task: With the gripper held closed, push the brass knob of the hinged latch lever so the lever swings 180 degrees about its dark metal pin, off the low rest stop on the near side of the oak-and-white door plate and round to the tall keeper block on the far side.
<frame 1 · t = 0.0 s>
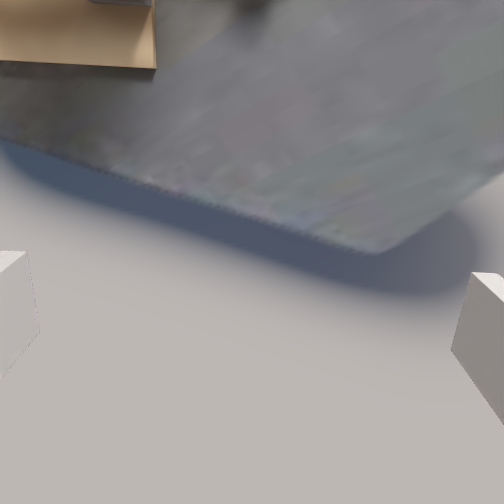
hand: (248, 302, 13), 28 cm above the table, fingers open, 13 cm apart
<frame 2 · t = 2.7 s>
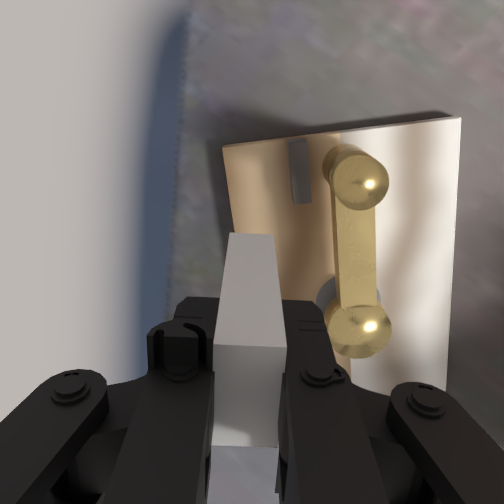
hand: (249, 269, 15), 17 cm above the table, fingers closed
latch lever: (355, 262, 29), point 5 cm above the table, hinge at 0.0°
door plate: (344, 294, 35), on the table
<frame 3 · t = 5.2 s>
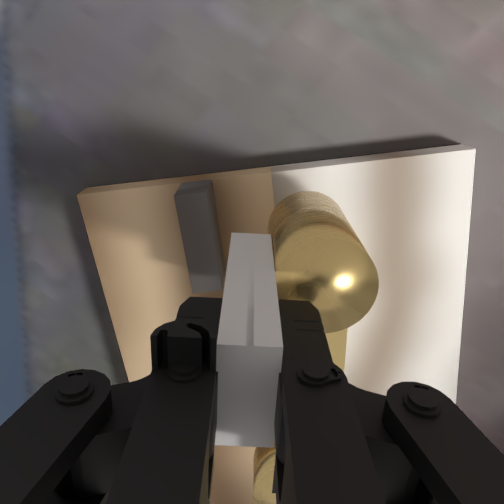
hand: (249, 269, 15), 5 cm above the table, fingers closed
latch lever: (308, 392, 17), point 5 cm above the table, hinge at 6.0°, touching gripper
door plate: (294, 405, 23), on the table
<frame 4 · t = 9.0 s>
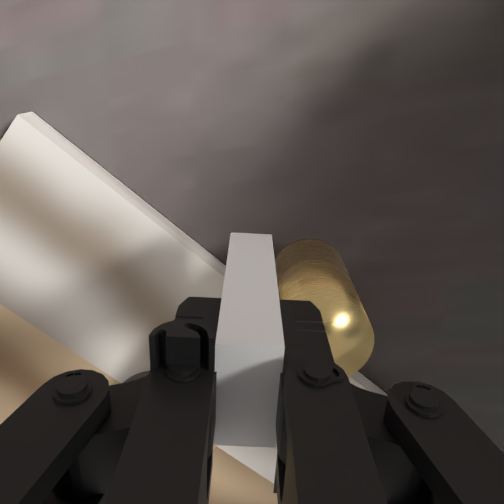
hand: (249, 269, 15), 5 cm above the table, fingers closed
latch lever: (215, 401, 17), point 5 cm above the table, hinge at 87.9°, touching gripper
door plate: (165, 393, 24), on the table
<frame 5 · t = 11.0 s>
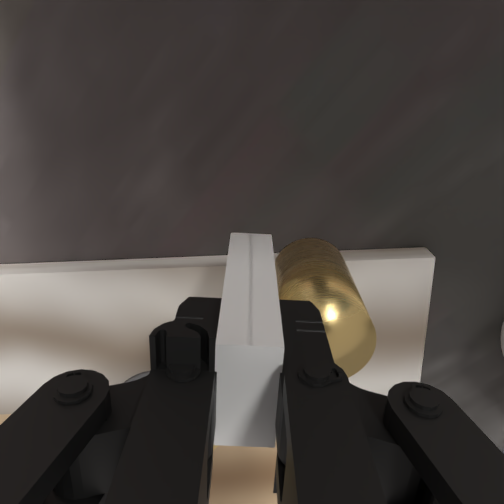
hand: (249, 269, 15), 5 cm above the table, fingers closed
latch lever: (216, 401, 17), point 5 cm above the table, hinge at 132.2°, touching gripper
door plate: (167, 393, 23), on the table
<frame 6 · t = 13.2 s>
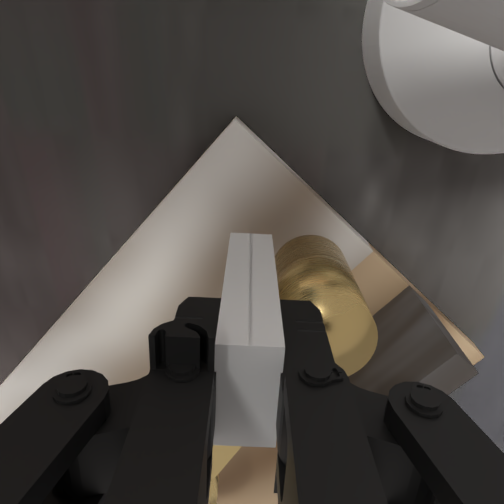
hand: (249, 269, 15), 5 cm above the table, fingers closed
latch lever: (229, 408, 17), point 5 cm above the table, hinge at 169.9°, touching gripper
door plate: (185, 404, 23), on the table
wall hook: (456, 23, 17), on the table
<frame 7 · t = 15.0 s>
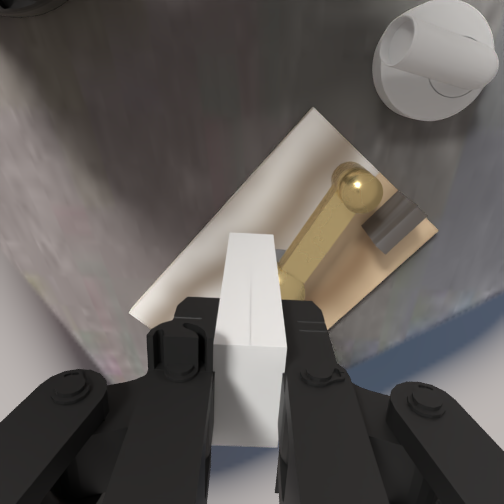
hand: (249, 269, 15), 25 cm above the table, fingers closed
latch lever: (313, 245, 36), point 5 cm above the table, hinge at 169.9°
door plate: (276, 268, 42), on the table
wall hook: (416, 61, 36), on the table
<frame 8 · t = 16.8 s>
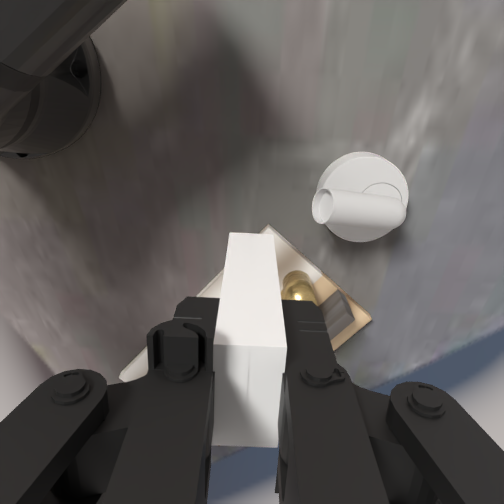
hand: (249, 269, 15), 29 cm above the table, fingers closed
latch lever: (266, 336, 45), point 5 cm above the table, hinge at 169.9°
door plate: (241, 343, 51), on the table
wall hook: (351, 192, 45), on the table
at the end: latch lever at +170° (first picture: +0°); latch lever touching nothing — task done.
